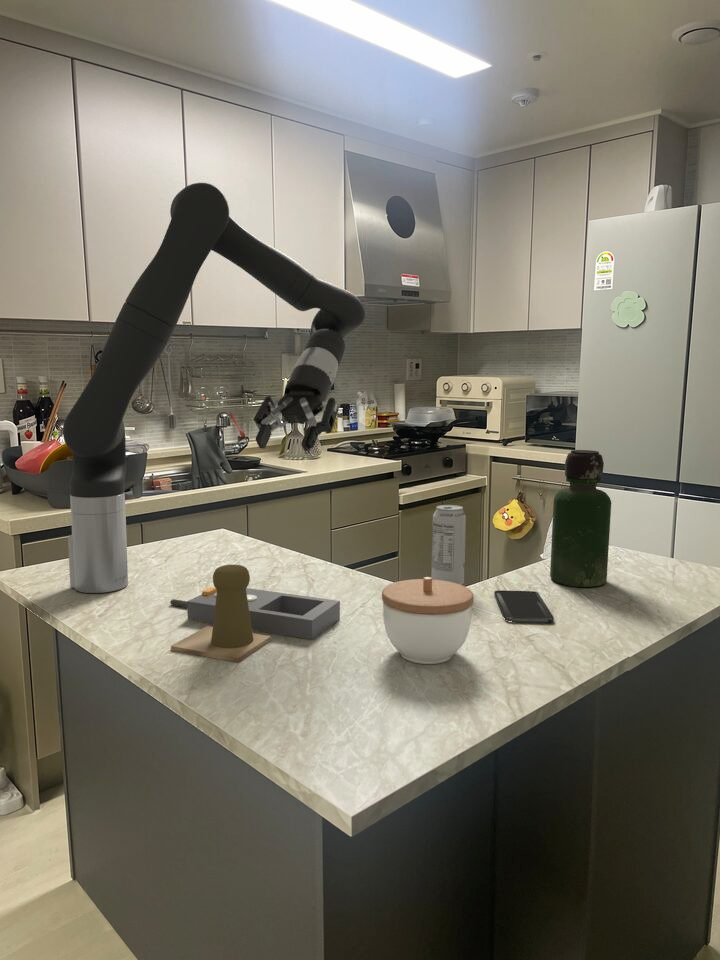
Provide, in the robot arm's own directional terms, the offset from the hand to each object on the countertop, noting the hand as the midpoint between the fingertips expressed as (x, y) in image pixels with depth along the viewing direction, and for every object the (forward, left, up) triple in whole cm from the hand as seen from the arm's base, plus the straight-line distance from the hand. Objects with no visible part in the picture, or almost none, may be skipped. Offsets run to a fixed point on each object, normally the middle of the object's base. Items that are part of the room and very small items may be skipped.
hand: (282, 446), depth 119 cm
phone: (+39, +12, -27) cm, 49 cm away
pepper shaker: (+3, -21, -26) cm, 34 cm away
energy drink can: (+24, +19, -27) cm, 41 cm away
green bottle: (+46, +33, -27) cm, 63 cm away
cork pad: (+2, -22, -27) cm, 35 cm away
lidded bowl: (+30, -14, -27) cm, 43 cm away
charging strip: (-2, -10, -27) cm, 29 cm away
